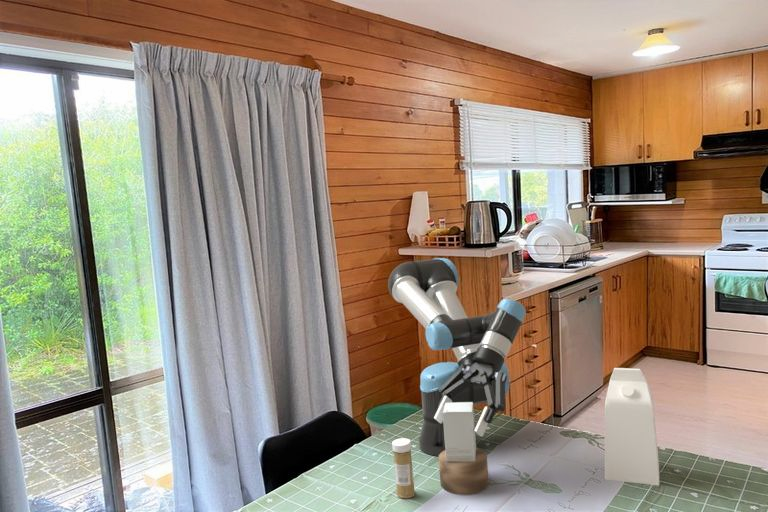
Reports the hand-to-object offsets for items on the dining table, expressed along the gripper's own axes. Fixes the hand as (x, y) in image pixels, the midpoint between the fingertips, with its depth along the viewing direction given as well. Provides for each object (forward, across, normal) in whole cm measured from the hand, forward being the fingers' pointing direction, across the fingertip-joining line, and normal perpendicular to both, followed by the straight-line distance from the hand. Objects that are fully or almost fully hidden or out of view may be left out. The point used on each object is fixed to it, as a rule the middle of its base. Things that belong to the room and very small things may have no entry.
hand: (457, 427), depth 142 cm
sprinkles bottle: (+19, +7, -2) cm, 21 cm away
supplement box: (+5, +1, -7) cm, 8 cm away
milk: (-12, -27, -34) cm, 45 cm away
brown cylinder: (+10, 0, -11) cm, 15 cm away
